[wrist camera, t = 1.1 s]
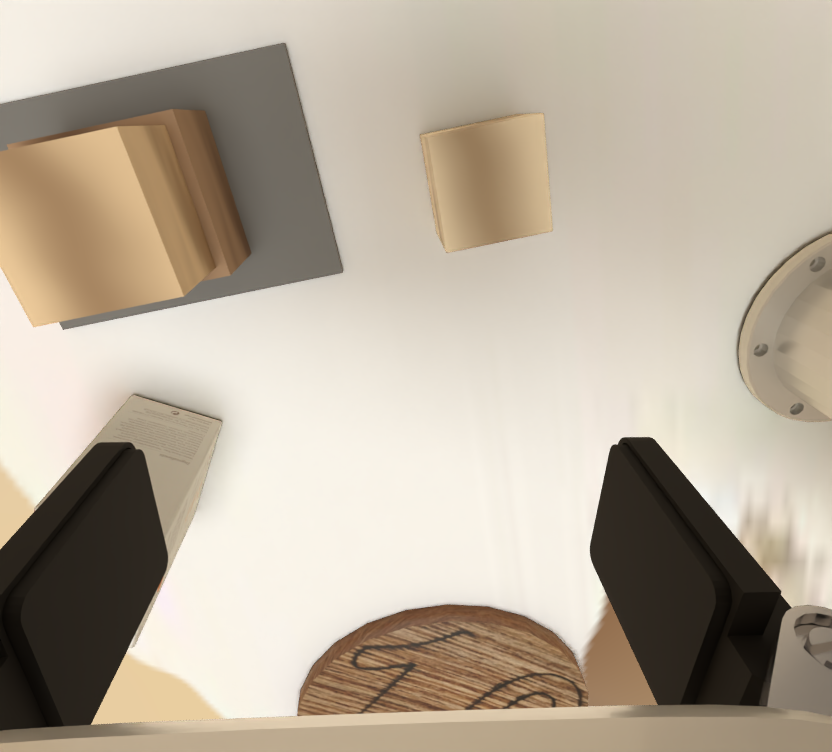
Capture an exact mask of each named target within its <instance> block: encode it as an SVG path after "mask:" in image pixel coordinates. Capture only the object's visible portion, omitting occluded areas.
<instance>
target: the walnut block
mask: <svg viewBox="0 0 832 752" xmlns="http://www.w3.org/2000/svg"><path fill="white" fill-rule="evenodd" d="M149 125H165V126H166V129H167V131H168V134H169V137H170V140H171V143H172V145H173V148H174V151H175V154H176V156H177V159H178V162H179V165H180V168H181V170H182V173H183V176H184V179H185V181H186V184H187V187H188V190H189V193H190V195H191V198H192V201H193V204H194V206H195V209H196V212H197V215H198V218H199V220H200V223H201V226H202V229H203V231H204V234H205V237H206V240H207V243H208V245H209V248H210V251H211V254H212V256H213V259H214V262H215V265H216V268H215V269H214V270H213V271H211V272H210V273H209V274H208V275H207V276H206V277H205V278H204V279H203V280H202V281H206V280H211V279H216V278H221V277H225V276H230V275H232V273H233V272H234V271H235V270H236V269H237V268H238V267H239V266H240V265H241V264H242V263H243V262H244V261H245V260H246V259H247V258H248V257H249V256H250V255H251V250H250V247H249V244H248V241H247V238H246V235H245V232H244V229H243V226H242V223H241V220H240V216H239V213H238V210H237V207H236V204H235V201H234V198H233V195H232V192H231V189H230V186H229V183H228V180H227V177H226V174H225V171H224V167H223V164H222V161H221V158H220V155H219V152H218V149H217V146H216V143H215V140H214V137H213V134H212V131H211V128H210V125H209V122H208V118H207V115H206V112H205V111H203V110H181V109H170V110H166V111H161V112H156V113H152V114H147V115H142V116H138V117H133V118H128V119H124V120H119V121H114V122H110V123H105V124H100V125H96V126H91V127H86V128H82V129H77V130H72V131H68V132H63V133H58V134H54V135H49V136H44V137H40V138H35V139H31V140H26V141H21V142H17V143H12V144H7V147H8V149H14V148H18V147H23V146H28V145H32V144H37V143H42V142H46V141H51V140H56V139H60V138H65V137H70V136H74V135H79V134H84V133H88V132H93V131H98V130H102V129H107V128H112V127H116V126H149ZM200 282H201V281H200Z"/></svg>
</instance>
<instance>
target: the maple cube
mask: <svg viewBox="0 0 832 752" xmlns="http://www.w3.org/2000/svg"><path fill="white" fill-rule="evenodd" d="M420 139H421V145H422V150H423V156H424V162H425V168H426V174H427V180H428V185H429V191H430V197H431V203H432V209H433V215H434V220H435V226H436V232H437V235H438V237H439V239H440V241H441V243H442V245H443V247H444V249H445V251H446V253H449V252H454V251H459V250H464V249H469V248H473V247H478V246H483V245H488V244H493V243H498V242H503V241H508V240H512V239H517V238H522V237H527V236H532V235H537V234H542V233H547V232H551V231H553V228H552V215H551V202H550V189H549V176H548V163H547V150H546V137H545V124H544V113H532V114H515V115H510V116H506V117H501V118H496V119H492V120H487V121H482V122H477V123H473V124H468V125H463V126H459V127H454V128H449V129H444V130H440V131H435V132H430V133H425V134H421V135H420Z"/></svg>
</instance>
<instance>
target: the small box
mask: <svg viewBox="0 0 832 752" xmlns="http://www.w3.org/2000/svg"><path fill="white" fill-rule="evenodd" d="M221 425H222V421H219V420H216V419H212V418H209V417H206V416H202V415H199V414H196V413H192V412H189V411H186V410H182V409H179V408H175V407H172V406H169V405H165V404H162V403H159V402H155V401H152V400H149V399H145V398H142V397H139V396H136V395H132V396H131V397H130V398H129V399H128V400H127V401H126V403H125V404H124V405H123V406H122V407H121V408H120V409H119V411H118V412H117V413H116V414H115V415H114V416H113V418H112V419H111V420H110V421H109V422H108V423H107V424H106V426H105V427H104V428H103V429H102V430H101V432H100V433H99V434H98V435H97V436H96V437H95V439H94V440H93V441H92V442H91V443H90V444H89V445H88V447H87V448H86V449H85V450H84V451H83V453H82V454H81V455H80V456H79V457H78V458H77V459H76V461H75V462H74V463H73V464H72V465H71V466H70V468H69V469H68V470H67V471H66V472H65V473H64V475H63V476H62V477H61V478H60V479H59V480H58V482H57V483H56V484H55V485H54V486H53V487H52V489H51V490H50V491H49V492H48V493H47V494H46V496H45V497H44V498H43V499H42V500H41V501H40V502H39V504H38V505H37V506H36V507H35V508H34V512H35V511H36V510H37V508H38V507H39V506H40V505H41V504H42V503H43V502H44V501H45V500H46V498H47V497H48V496H49V495H50V494H51V493H52V492H53V491H54V490H55V488H56V487H57V486H58V485H59V484H60V483H61V482H62V481H63V480H64V478H65V477H66V476H67V475H68V474H69V473H70V472H71V471H72V470H73V469H74V467H75V466H76V465H77V464H78V463H79V462H80V461H81V460H82V459H83V457H84V456H85V455H86V454H87V453H88V452H89V451H90V450H91V449H92V447H93V446H94V445H96V444H97V443H100V442H130V443H132V444H133V445H134V446H135V448H136V449H140V450H142V451H143V452H144V455H145V458H146V462H147V467H148V471H149V475H150V479H151V484H152V488H153V492H154V496H155V500H156V505H157V509H158V513H159V517H160V522H161V526H162V530H163V534H164V539H165V543H166V547H167V551H168V565H167V569H166V572H165V574H164V576H163V579H162V581H161V583H160V585H159V587H158V589H157V591H156V593H155V595H154V597H153V599H152V601H151V603H150V605H149V607H148V609H147V611H146V613H145V615H144V617H143V619H142V621H141V623H140V625H139V627H138V629H137V631H136V633H135V635H134V638H133V640H132V642H131V644H130V646H129V648H133V647H134V646H135V644H136V642H137V640H138V638H139V636H140V634H141V631H142V629H143V627H144V625H145V623H146V621H147V618H148V616H149V614H150V612H151V609H152V607H153V605H154V603H155V601H156V598H157V596H158V594H159V592H160V590H161V587H162V585H163V583H164V581H165V578H166V576H167V574H168V572H169V570H170V567H171V565H172V563H173V561H174V559H175V556H176V554H177V552H178V550H179V548H180V545H181V543H182V541H183V539H184V537H185V535H186V532H187V530H188V528H189V526H190V524H191V521H192V519H193V517H194V515H195V512H196V508H197V505H198V501H199V498H200V495H201V491H202V488H203V485H204V481H205V478H206V474H207V471H208V468H209V464H210V461H211V458H212V454H213V451H214V448H215V444H216V441H217V438H218V435H219V431H220V428H221Z"/></svg>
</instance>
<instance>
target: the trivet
mask: <svg viewBox="0 0 832 752" xmlns="http://www.w3.org/2000/svg"><path fill="white" fill-rule="evenodd" d="M556 707H588V690H587V688H586V685H585V682H584V679H583V677H582V674H581V672H580V669H579V667H578V664H577V662H576V659H575V657H574V655H573V652H572V651H571V650H570V649H569V648H568V647H567V646H566V645H565V644H564V643H563V642H562V641H561V640H560V639H559V638H558V637H557V636H556V635H555V634H554V633H553V632H552V631H550V630H548V629H547V628H545V627H543V626H541V625H539V624H537V623H536V622H534V621H532V620H530V619H528V618H526V617H525V616H521V615H518V614H514V613H510V612H506V611H502V610H498V609H495V608H491V607H484V606H464V605H441V606H434V607H426V608H419V609H412V610H405V611H402V612H399V613H396V614H393V615H391V616H388V617H385V618H382V619H379V620H376V621H373V622H370V623H367V624H365V625H364V626H362V627H360V628H359V629H357V630H355V631H354V632H352V633H350V634H349V635H347V636H345V637H344V638H342V639H340V640H339V641H337V642H335V643H334V644H333V645H332V646H331V647H330V648H329V649H328V650H327V651H326V652H325V654H324V655H323V656H322V657H321V658H320V659H319V660H318V661H317V662H316V663H315V664H314V665H313V666H312V668H311V670H310V672H309V674H308V676H307V678H306V680H305V682H304V684H303V686H302V688H301V691H300V698H299V705H298V716H313V715H340V714H368V713H397V712H426V711H455V710H487V709H522V708H556Z"/></svg>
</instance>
